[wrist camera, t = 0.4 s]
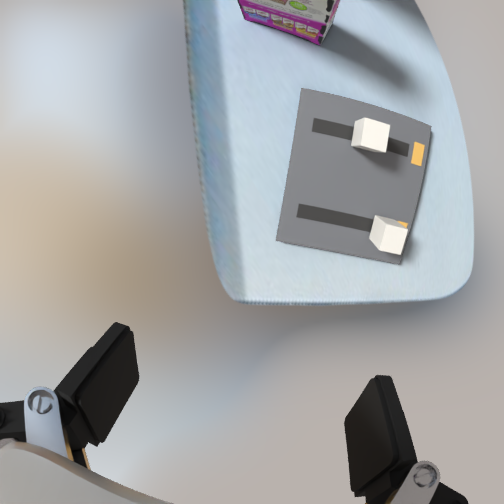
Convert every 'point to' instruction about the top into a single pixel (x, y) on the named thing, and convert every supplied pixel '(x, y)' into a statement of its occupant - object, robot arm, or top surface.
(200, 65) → the top surface
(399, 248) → the block
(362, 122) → the block
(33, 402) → the robot arm
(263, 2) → the candy bar box
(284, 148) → the top surface
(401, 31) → the top surface
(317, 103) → the panel
